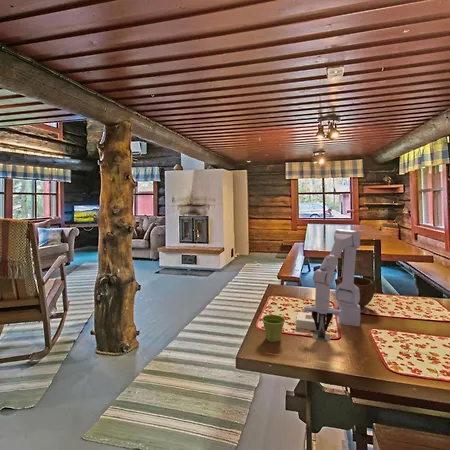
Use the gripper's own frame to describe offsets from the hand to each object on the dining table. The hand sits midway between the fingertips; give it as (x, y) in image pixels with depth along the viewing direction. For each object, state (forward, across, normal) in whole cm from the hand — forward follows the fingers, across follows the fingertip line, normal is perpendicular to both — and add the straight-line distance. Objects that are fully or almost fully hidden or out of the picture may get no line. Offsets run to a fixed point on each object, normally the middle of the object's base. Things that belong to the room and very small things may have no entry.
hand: (321, 329), depth 128 cm
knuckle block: (+3, -5, +10) cm, 12 cm away
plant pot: (+3, -19, -8) cm, 21 cm away
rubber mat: (+3, 0, 0) cm, 3 cm away
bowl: (+3, +16, +43) cm, 46 cm away
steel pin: (+3, 0, 0) cm, 3 cm away
